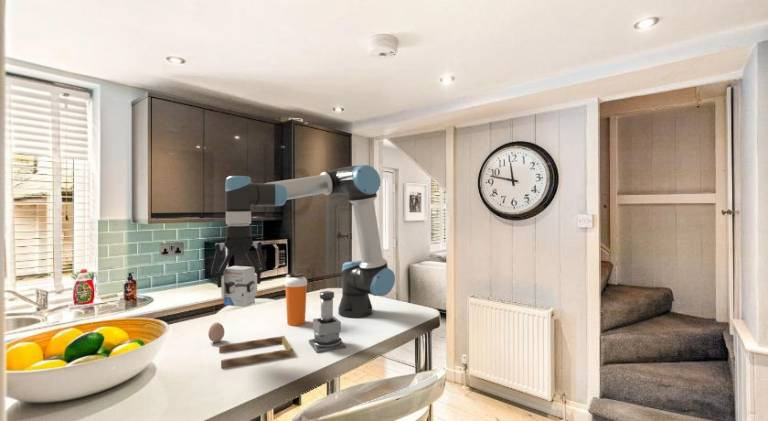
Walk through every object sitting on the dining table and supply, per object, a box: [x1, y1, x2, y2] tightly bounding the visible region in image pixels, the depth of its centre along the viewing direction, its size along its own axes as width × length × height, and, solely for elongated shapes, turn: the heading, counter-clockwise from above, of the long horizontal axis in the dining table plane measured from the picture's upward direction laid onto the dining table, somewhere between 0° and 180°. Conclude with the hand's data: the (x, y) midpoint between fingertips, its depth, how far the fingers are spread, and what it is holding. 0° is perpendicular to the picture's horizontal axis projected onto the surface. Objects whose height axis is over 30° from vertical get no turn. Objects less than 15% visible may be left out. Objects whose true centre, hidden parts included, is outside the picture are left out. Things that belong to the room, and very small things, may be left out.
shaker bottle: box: [284, 272, 308, 327], centre depth 154 cm, size 9×9×20 cm
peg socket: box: [308, 315, 347, 354], centre depth 130 cm, size 10×10×8 cm
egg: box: [207, 321, 225, 343], centre depth 133 cm, size 5×5×7 cm
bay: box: [218, 335, 294, 369], centre depth 123 cm, size 21×14×2 cm, turn 116°
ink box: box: [223, 265, 256, 308], centre depth 121 cm, size 8×5×12 cm, turn 70°
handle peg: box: [319, 290, 335, 324], centre depth 130 cm, size 5×5×13 cm
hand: (239, 295), depth 121 cm, fingers closed on ink box, 9 cm apart
